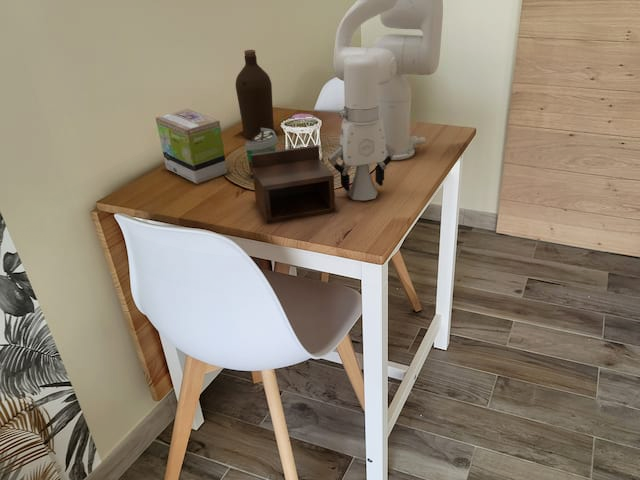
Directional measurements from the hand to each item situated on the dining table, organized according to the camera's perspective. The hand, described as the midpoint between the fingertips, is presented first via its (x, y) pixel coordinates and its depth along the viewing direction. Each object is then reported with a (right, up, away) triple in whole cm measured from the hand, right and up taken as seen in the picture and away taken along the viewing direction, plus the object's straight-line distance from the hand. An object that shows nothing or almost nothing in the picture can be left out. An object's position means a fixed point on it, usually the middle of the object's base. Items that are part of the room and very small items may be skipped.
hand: (362, 185), depth 137 cm
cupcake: (-17, +16, +31) cm, 38 cm away
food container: (-25, +6, +16) cm, 30 cm away
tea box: (-44, +6, +16) cm, 48 cm away
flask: (0, -2, +1) cm, 3 cm away
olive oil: (-32, +22, +41) cm, 57 cm away
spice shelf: (-16, -5, -3) cm, 17 cm away
